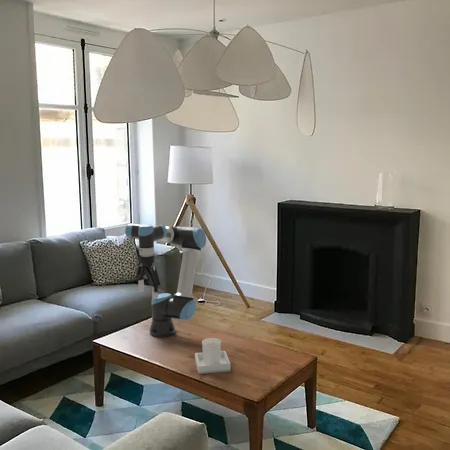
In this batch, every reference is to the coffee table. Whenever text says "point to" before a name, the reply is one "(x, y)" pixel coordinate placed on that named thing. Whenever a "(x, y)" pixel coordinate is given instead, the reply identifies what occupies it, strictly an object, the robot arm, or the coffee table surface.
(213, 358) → the candle holder
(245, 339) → the coffee table surface
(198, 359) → the lipped tray
